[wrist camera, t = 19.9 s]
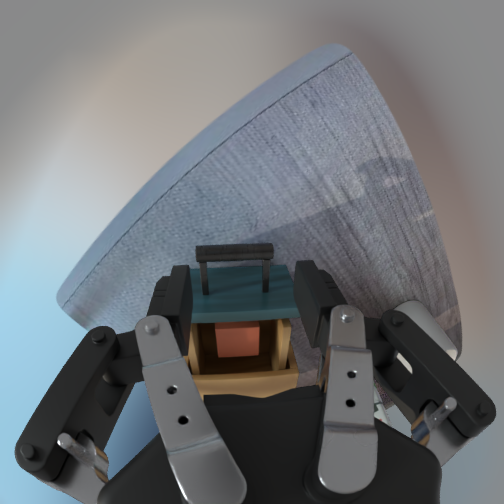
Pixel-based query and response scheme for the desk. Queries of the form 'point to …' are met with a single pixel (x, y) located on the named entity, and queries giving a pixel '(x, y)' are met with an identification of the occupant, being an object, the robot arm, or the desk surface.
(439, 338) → the mug
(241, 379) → the cabinet
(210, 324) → the drawer
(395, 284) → the desk surface
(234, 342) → the block
